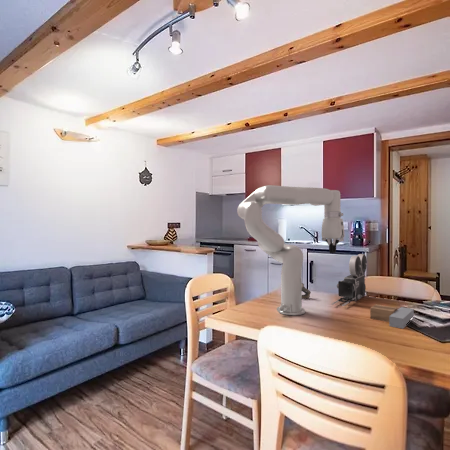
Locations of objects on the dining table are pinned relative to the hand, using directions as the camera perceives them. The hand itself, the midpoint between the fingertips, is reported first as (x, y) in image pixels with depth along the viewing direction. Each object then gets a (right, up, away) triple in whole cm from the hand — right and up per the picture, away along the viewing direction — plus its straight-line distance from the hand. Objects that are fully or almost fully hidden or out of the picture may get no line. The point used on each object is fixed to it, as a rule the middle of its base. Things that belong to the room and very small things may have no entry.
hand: (332, 252), depth 156 cm
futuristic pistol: (-13, -27, +21) cm, 37 cm away
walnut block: (+17, -27, -17) cm, 36 cm away
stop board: (+22, -27, -22) cm, 41 cm away
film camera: (+14, -27, +16) cm, 35 cm away
